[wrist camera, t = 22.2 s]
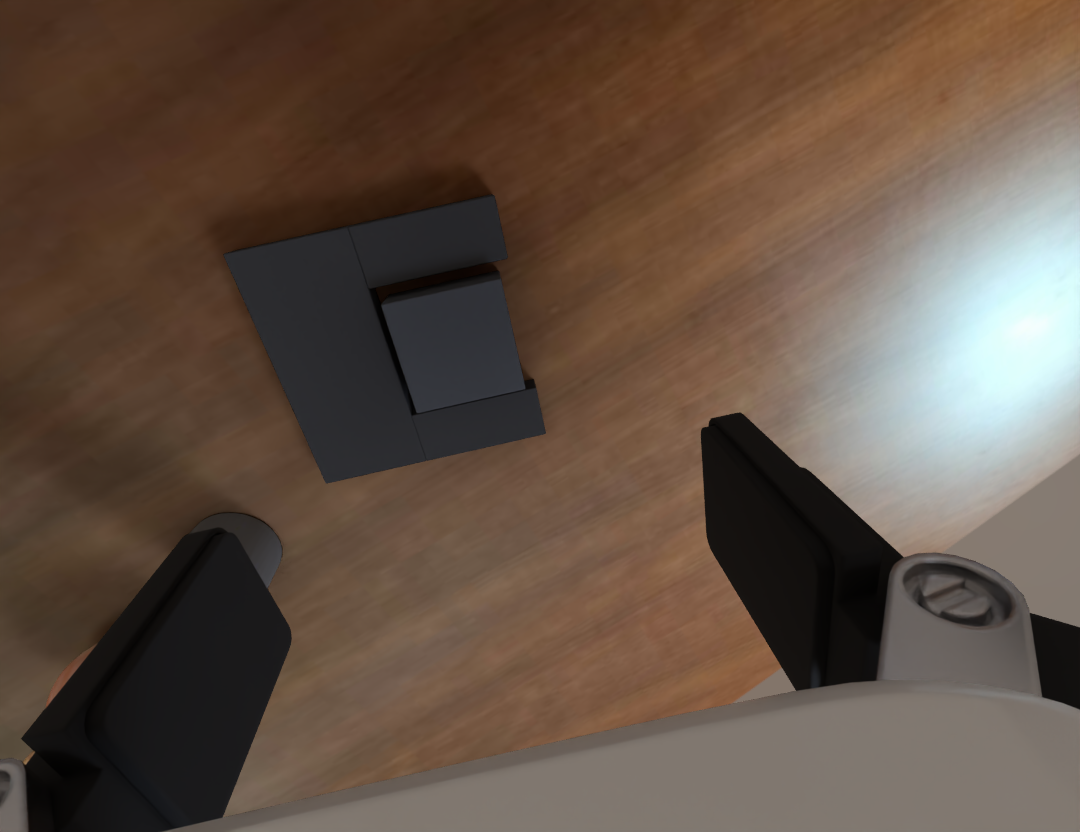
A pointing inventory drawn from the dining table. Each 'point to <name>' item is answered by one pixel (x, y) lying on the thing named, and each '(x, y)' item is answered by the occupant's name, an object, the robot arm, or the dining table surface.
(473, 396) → the grey block
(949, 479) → the dining table surface
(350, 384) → the dark grey notched block
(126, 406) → the dining table surface
